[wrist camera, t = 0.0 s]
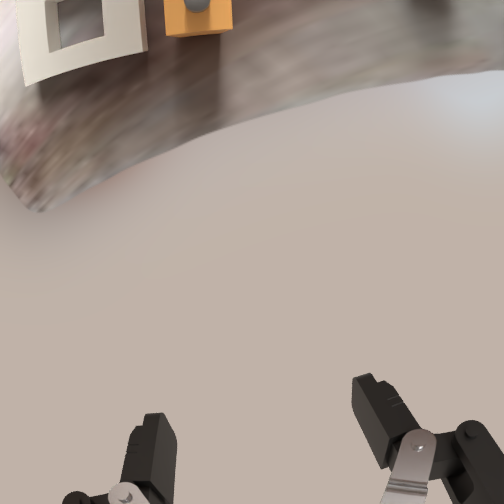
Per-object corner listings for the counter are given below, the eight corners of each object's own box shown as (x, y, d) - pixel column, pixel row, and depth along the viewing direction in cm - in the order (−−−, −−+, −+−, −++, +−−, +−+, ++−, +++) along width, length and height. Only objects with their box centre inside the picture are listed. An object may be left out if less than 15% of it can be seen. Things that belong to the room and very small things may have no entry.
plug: (179, 37, 27) (162, 35, 15) (177, 2, 24) (159, -27, 12) (220, 33, 28) (235, 27, 15) (218, -2, 25) (232, -34, 13)
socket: (38, 81, 26) (25, 86, 23) (29, -5, 18) (15, -7, 16) (148, 50, 27) (142, 51, 25) (142, -42, 20) (136, -50, 17)
